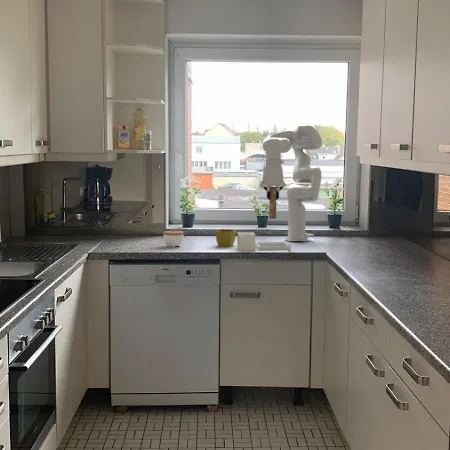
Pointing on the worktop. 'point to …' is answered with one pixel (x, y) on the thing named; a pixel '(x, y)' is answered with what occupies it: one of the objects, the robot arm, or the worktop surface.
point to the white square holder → (245, 241)
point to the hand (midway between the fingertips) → (272, 199)
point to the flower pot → (225, 237)
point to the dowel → (272, 203)
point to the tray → (272, 246)
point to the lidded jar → (173, 238)
